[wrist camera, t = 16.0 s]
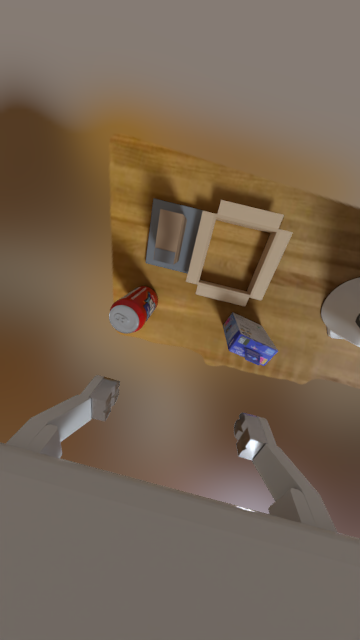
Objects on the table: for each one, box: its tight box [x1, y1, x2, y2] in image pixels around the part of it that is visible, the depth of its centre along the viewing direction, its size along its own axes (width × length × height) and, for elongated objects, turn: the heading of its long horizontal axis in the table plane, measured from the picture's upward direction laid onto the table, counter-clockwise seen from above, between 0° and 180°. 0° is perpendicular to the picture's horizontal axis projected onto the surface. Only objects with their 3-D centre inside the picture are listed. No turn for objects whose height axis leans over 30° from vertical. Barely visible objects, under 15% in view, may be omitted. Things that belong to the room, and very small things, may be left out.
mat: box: [146, 199, 203, 273], centre depth 40 cm, size 12×14×1 cm
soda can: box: [109, 286, 158, 333], centre depth 41 cm, size 8×8×15 cm
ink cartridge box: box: [223, 312, 278, 366], centre depth 41 cm, size 10×6×14 cm, turn 67°
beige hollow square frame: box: [186, 200, 293, 306], centre depth 39 cm, size 19×20×4 cm
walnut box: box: [153, 209, 187, 265], centre depth 36 cm, size 4×9×8 cm, turn 168°
